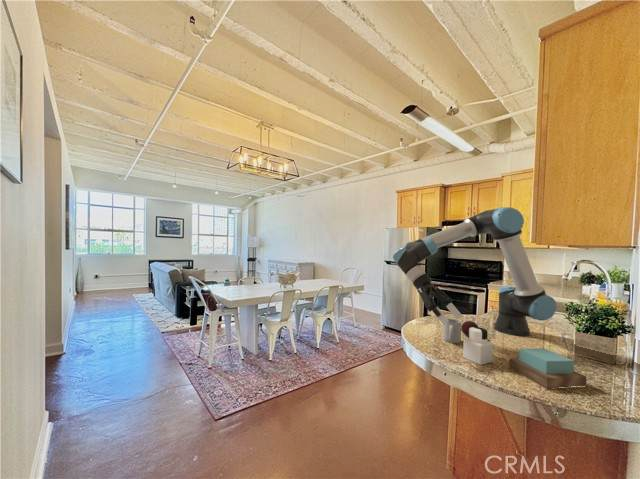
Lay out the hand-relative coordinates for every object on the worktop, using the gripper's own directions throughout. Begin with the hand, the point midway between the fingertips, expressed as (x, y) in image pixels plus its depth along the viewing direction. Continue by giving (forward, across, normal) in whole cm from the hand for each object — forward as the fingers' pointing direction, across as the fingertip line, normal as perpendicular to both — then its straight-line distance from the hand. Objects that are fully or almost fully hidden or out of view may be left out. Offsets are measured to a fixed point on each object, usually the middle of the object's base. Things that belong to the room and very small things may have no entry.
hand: (453, 320), depth 110 cm
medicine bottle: (+16, 0, -3) cm, 16 cm away
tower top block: (+27, -4, +13) cm, 30 cm away
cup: (+6, -13, -13) cm, 19 cm away
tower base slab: (+30, -4, +11) cm, 32 cm away
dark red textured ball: (+7, -29, -11) cm, 32 cm away
